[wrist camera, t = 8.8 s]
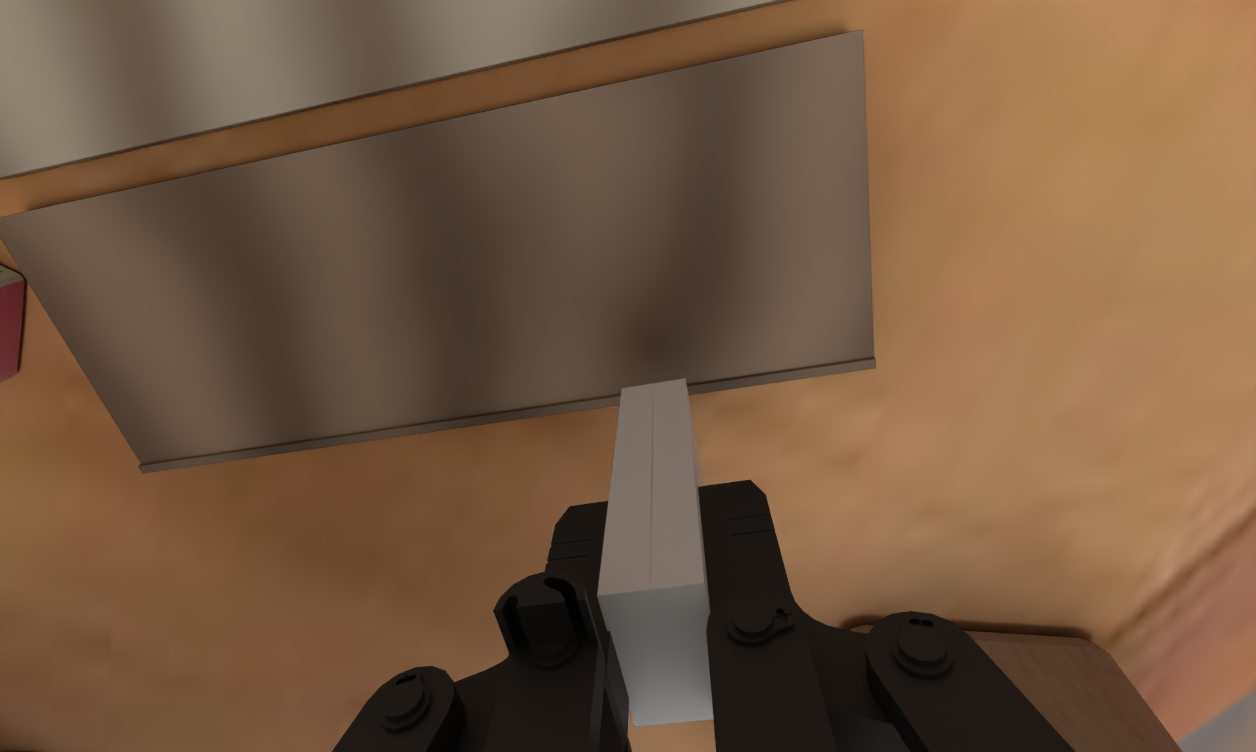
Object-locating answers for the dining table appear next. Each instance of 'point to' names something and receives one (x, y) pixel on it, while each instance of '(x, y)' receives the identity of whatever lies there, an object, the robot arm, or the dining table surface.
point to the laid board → (264, 60)
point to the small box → (10, 320)
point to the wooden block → (1076, 691)
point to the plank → (478, 264)
